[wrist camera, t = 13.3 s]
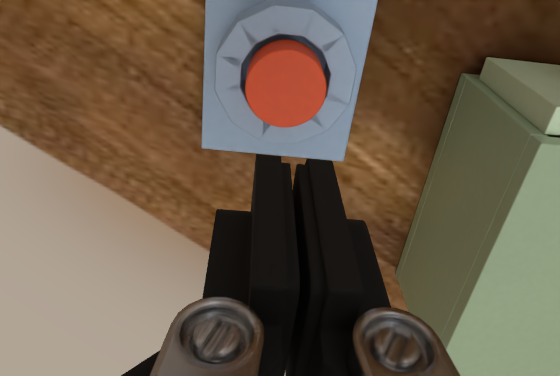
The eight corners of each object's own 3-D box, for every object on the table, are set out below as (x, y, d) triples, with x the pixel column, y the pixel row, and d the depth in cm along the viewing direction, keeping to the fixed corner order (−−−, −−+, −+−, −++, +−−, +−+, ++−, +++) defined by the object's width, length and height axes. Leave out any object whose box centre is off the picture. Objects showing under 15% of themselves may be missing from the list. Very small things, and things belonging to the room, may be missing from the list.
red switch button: (249, 34, 20) (248, 44, 19) (329, 43, 21) (333, 54, 19) (244, 109, 22) (242, 124, 21) (316, 116, 23) (319, 131, 21)
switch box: (210, -57, 21) (200, -51, 18) (378, -36, 22) (395, -27, 19) (204, 137, 27) (196, 166, 24) (340, 149, 27) (348, 180, 24)
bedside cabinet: (461, 72, 25) (541, 143, 18) (676, 96, 26) (837, 172, 18) (395, 273, 32) (431, 380, 25) (562, 285, 33) (644, 392, 26)
